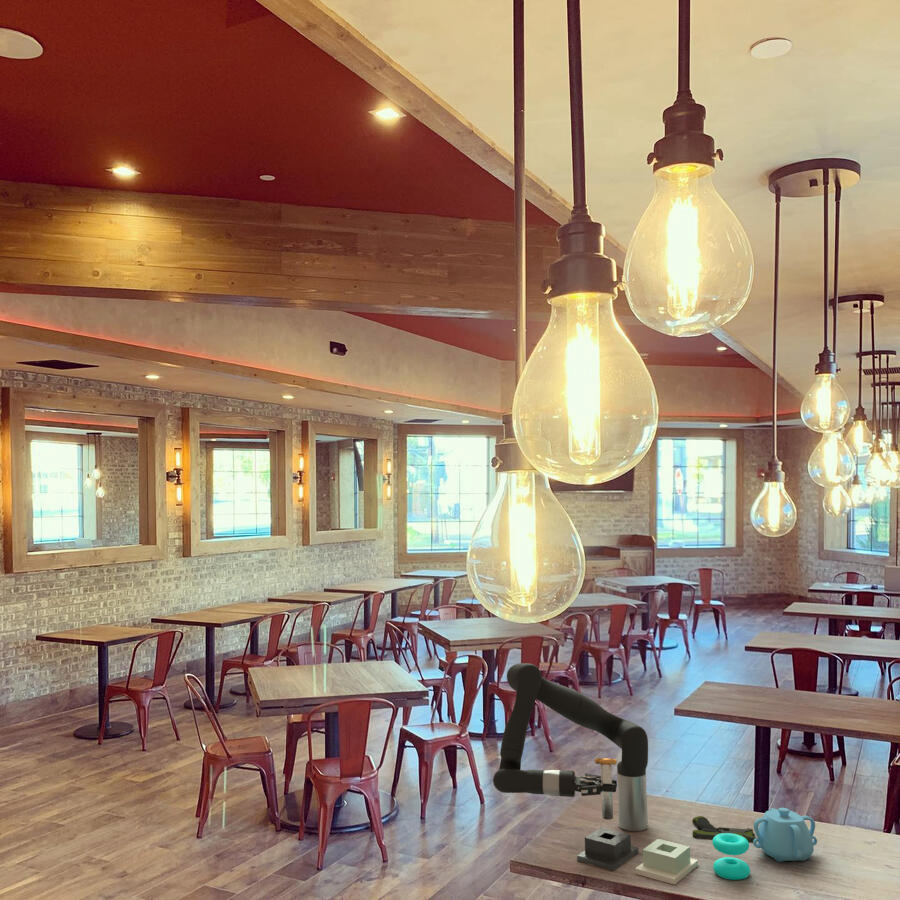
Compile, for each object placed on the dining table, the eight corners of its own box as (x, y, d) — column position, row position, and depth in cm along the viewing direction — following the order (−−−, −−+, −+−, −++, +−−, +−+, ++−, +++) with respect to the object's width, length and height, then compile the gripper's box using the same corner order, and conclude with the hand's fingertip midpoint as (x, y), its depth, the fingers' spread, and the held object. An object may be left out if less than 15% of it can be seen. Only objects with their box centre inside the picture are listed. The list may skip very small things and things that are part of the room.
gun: (750, 826, 285) (756, 845, 270) (690, 822, 288) (693, 841, 274) (750, 818, 285) (756, 837, 270) (689, 814, 289) (693, 833, 274)
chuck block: (603, 843, 272) (602, 823, 272) (638, 852, 264) (638, 832, 264) (577, 860, 259) (576, 840, 259) (613, 870, 252) (612, 849, 252)
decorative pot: (825, 855, 260) (823, 809, 260) (799, 871, 249) (797, 823, 250) (773, 840, 272) (771, 796, 272) (746, 855, 261) (745, 808, 262)
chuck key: (596, 818, 262) (594, 759, 262) (597, 815, 265) (595, 756, 265) (618, 820, 260) (616, 760, 261) (619, 816, 263) (617, 757, 264)
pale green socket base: (659, 855, 262) (659, 834, 262) (698, 865, 254) (697, 844, 255) (635, 873, 249) (634, 852, 250) (674, 884, 242) (674, 862, 242)
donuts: (717, 829, 256) (752, 835, 250) (718, 864, 255) (753, 871, 250) (708, 840, 247) (744, 847, 242) (709, 877, 247) (745, 884, 241)
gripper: (555, 778, 260) (614, 780, 255) (561, 763, 273) (617, 766, 269) (556, 803, 259) (615, 807, 255) (562, 787, 273) (618, 790, 269)
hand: (616, 785), depth 262 cm, fingers closed on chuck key, 3 cm apart
